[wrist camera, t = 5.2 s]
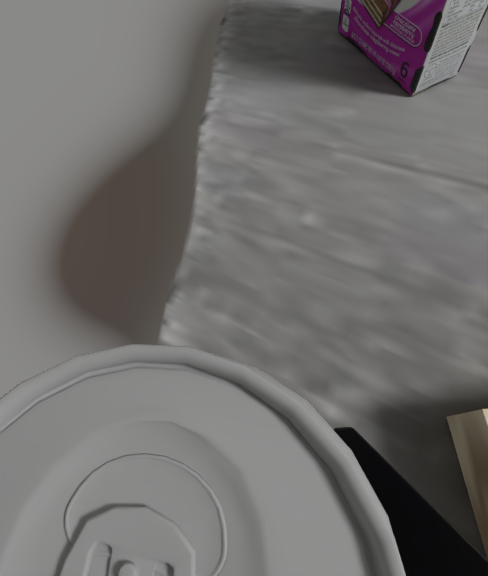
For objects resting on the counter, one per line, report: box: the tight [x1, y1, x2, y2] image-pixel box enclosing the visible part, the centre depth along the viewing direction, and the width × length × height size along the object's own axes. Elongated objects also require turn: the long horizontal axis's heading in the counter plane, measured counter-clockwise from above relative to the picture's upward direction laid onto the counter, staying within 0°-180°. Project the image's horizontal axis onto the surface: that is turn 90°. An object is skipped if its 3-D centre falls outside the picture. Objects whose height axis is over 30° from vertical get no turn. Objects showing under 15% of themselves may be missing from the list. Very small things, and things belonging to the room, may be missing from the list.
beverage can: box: [0, 344, 406, 576], centre depth 8 cm, size 5×5×12 cm
